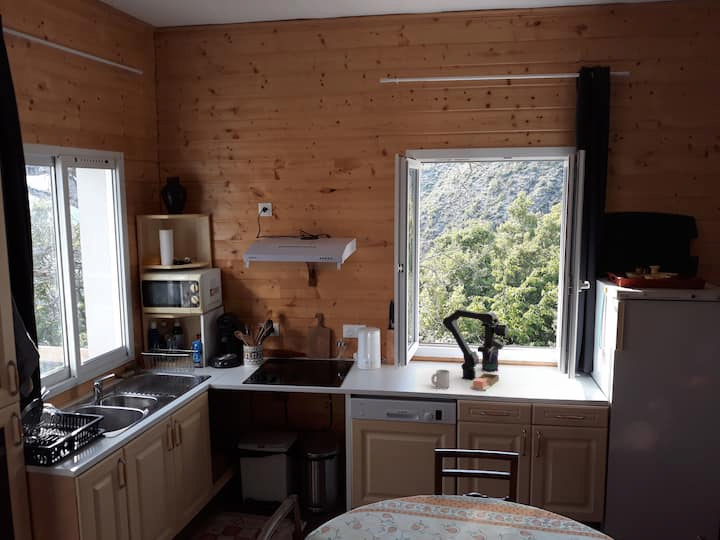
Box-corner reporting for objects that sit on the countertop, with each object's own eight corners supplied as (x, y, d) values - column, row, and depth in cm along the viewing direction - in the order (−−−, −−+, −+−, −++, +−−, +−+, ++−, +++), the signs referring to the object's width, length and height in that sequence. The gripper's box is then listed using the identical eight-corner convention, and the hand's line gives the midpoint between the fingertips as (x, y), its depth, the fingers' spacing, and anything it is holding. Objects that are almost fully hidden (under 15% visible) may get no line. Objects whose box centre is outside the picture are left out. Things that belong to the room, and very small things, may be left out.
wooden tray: (470, 388, 333) (470, 383, 333) (484, 377, 353) (484, 372, 353) (485, 391, 329) (485, 385, 328) (498, 380, 348) (498, 375, 348)
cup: (450, 388, 334) (450, 373, 332) (432, 389, 333) (432, 373, 332) (448, 384, 341) (448, 369, 340) (430, 385, 340) (430, 369, 339)
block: (473, 387, 332) (473, 380, 332) (476, 384, 337) (476, 377, 337) (482, 389, 329) (482, 382, 329) (486, 386, 334) (486, 379, 334)
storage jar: (479, 370, 368) (479, 346, 366) (484, 366, 376) (485, 343, 375) (495, 372, 363) (495, 348, 361) (500, 368, 371) (500, 345, 369)
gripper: (496, 339, 330) (495, 367, 332) (509, 333, 345) (508, 359, 347) (477, 337, 337) (477, 364, 338) (490, 330, 352) (490, 356, 354)
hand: (488, 361), depth 344 cm, fingers closed
